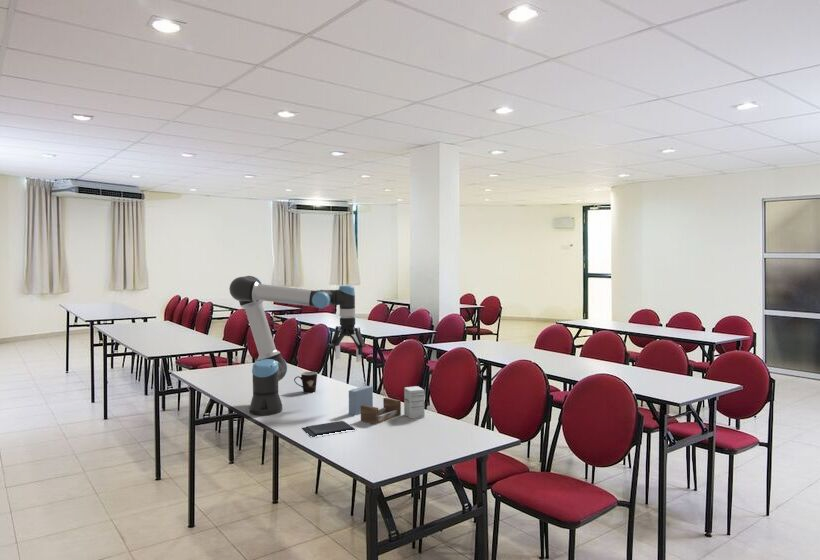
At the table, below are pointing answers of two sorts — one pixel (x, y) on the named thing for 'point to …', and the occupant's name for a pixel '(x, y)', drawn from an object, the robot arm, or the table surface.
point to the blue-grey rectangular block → (360, 399)
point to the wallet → (327, 428)
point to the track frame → (381, 411)
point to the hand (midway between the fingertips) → (348, 360)
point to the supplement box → (414, 402)
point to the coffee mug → (308, 381)
